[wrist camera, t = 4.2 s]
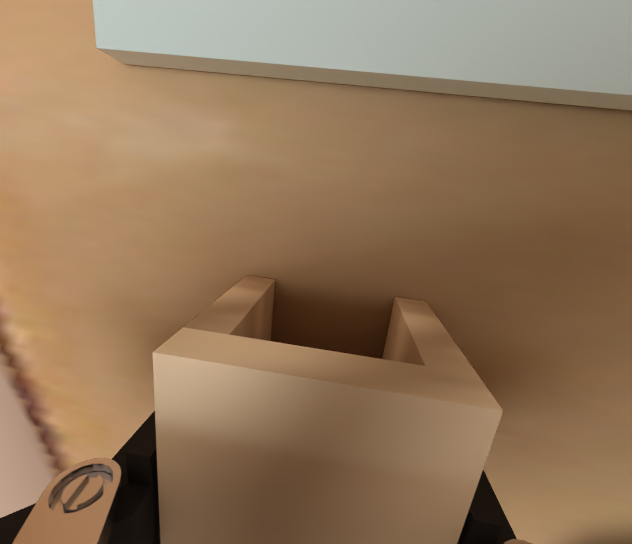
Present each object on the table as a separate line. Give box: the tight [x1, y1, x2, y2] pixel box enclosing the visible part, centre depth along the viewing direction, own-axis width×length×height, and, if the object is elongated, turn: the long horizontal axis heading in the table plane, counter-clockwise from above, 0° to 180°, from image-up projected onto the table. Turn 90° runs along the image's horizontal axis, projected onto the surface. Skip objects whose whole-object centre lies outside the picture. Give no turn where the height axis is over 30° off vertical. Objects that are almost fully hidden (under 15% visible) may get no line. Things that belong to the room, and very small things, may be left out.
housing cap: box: [152, 275, 503, 544], centre depth 8 cm, size 6×8×5 cm
